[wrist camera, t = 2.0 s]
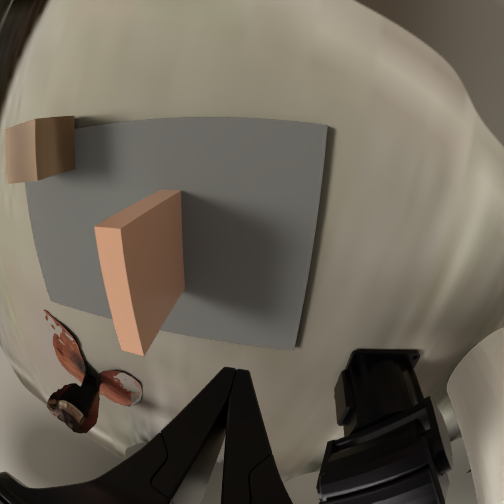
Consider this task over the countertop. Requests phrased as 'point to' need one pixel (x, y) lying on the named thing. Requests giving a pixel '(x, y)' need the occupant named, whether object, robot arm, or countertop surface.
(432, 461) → the robot arm
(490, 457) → the bottle
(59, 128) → the cube
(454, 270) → the countertop surface
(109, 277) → the tile
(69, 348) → the figurine
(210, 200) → the mat
